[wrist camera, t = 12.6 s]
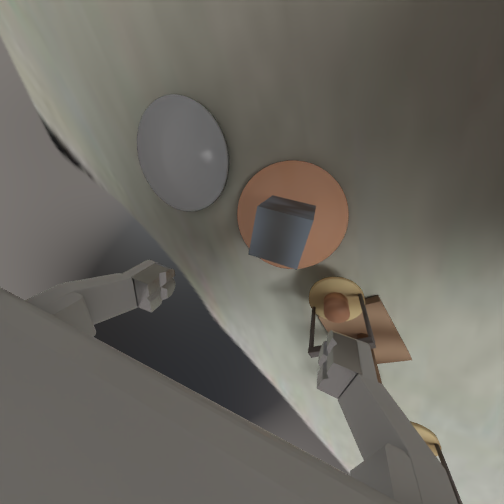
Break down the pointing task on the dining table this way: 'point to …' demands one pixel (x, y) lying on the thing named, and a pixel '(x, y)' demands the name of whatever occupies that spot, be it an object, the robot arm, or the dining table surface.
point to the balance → (364, 334)
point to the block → (281, 230)
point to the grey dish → (182, 152)
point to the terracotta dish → (302, 190)
